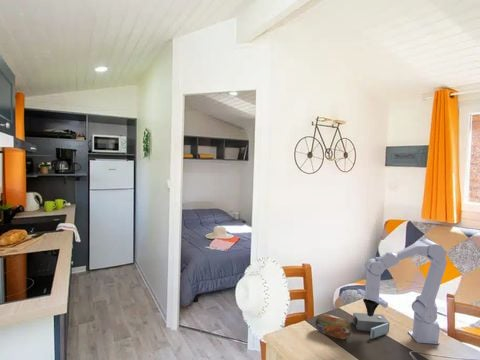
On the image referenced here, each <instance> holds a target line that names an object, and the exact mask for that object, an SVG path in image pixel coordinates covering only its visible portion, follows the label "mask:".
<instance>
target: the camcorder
mask: <svg viewBox="0 0 480 360" xmlns="http://www.w3.org/2000/svg"><path fill="white" fill-rule="evenodd" d="M351 321H352V325H354V326H355V328H356V329H357V330H358V331H366V332H367V331H368V332H371V328H373V327H376V326H379V325H382V324H385V323H388V324H389V326H388V333H389V332H390V324H391V323H390V321H389V320H388V319H387V318H386V317H385V315H384V314H379V313H374V314H373V316H371V317H370V316H368V314H367V312H366V313H365V312H353V313H352V319H351Z"/></svg>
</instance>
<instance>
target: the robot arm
mask: <svg viewBox="0 0 480 360" xmlns="http://www.w3.org/2000/svg"><path fill="white" fill-rule="evenodd" d="M446 254H447V250H446V249H445V248H444V247H443V246H442V245H441V244H438V243H436V242H434V241H432V240H430V239H428V238H422V239H420V240H418V241H415V242H414V243H413V244H411V245H409V246H407V247H405V248H403V249H401V250H399V251H397V252H395V253H394V252H391V251H390V252H388V251H387V252H385V254H383V255H381V256H376V257H375V258H369V259H368V260H367V261H366V262H365V263H364V266H365V269H366V276H365V278H366V279H365V290H364V289H361V288H358V289H357V290H356V294H357V295H361V296H362V297H364V298H363V299H362V300H363V301H362V302H363V303H364V307H365V309H366V314H368V316H370V317H371V316H373V314H375V311H376V309H377V307H378V306H379V305H380V306H382V308H384V309H385V308H388V306H389V302H388V301H386V300H384V298H382V297H380V287H381V275H382V274H383V273H384V271H386V270H388V269H391V268H393V267H395V266H397V265H399V263H400V261H402V260H405V259H408V258H412V257H414V256H417V255H419V256H423V257H427V259H428V260H429V261H430V264H429V268H428V271H427V274H426V278H425V281H424V284H423V287H422V289H421V294H419V295H417V296H416V298H415V300H414V301H413V302H412V303H411V309H412V311H413V322H412V323H413V324H412V330H408V331H407V333H408V334H410V336H411V337H412V338H413V339H414V340H415V342H417V343H420V344H430V345H431V344H433V345H434V344H435V345H440V342H439V339H440V325H439V323H438V321H437V319H438V314H437V312H438V306H437V303H436V299H437V296H438V292H439V290H440V286H441V283H442V279H443V277H444V274H445V270H446V267H447V265H448V264H447V263H448V262H447V257H446Z"/></svg>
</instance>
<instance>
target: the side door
mask: <svg viewBox="0 0 480 360" xmlns="http://www.w3.org/2000/svg"><path fill="white" fill-rule="evenodd" d="M388 326H389V327H390V324H388V323H385V324H382V325H379V326H376V327H373V328H371V331H370V333H369V334H370V336H369V338H370V339H376V338H378V337H381V336H384V335H387V334H389V332H388Z"/></svg>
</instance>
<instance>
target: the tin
mask: <svg viewBox="0 0 480 360" xmlns="http://www.w3.org/2000/svg"><path fill="white" fill-rule="evenodd" d="M315 326H316V329H317V330H318V331H319V333H321V334H323V335H327V336H329V337H333V338H337V339H339V340H347V339H348V338H350V336H351V334H352V333H351V332H352V327H351V326H352V325H351V324H350V323H349V321H348V320H347V319H346V318H343V317H339V316H335V315H332V314H328V313H321V314H319V315H318V316H317V317H316V319H315Z"/></svg>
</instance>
